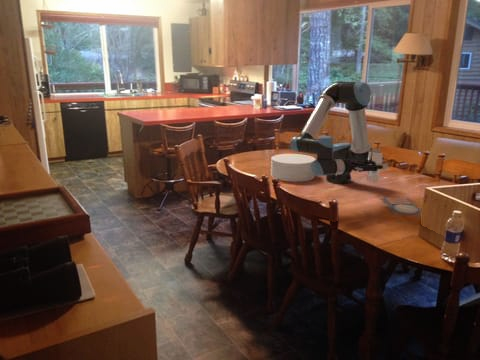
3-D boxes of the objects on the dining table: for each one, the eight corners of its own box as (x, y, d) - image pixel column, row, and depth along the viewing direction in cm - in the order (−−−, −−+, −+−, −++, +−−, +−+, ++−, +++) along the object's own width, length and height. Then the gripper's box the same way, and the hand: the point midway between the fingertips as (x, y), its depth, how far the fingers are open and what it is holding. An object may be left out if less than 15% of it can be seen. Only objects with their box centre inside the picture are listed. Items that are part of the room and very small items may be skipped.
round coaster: (398, 213, 200) (398, 211, 200) (390, 205, 211) (391, 204, 211) (421, 213, 200) (421, 212, 200) (412, 206, 210) (413, 204, 210)
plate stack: (313, 183, 252) (314, 164, 249) (268, 180, 257) (268, 162, 254) (315, 171, 278) (316, 154, 275) (273, 169, 284) (274, 152, 280)
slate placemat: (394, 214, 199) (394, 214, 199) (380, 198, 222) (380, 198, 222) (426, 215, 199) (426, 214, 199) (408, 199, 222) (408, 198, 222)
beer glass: (377, 178, 218) (379, 150, 214) (382, 181, 211) (384, 152, 207) (364, 178, 217) (366, 150, 213) (368, 181, 211) (371, 152, 207)
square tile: (391, 205, 212) (391, 203, 212) (385, 198, 221) (385, 197, 221) (411, 205, 211) (411, 203, 211) (404, 199, 221) (404, 197, 221)
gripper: (333, 169, 218) (373, 167, 223) (350, 179, 200) (393, 176, 205) (334, 155, 216) (374, 153, 221) (351, 164, 198) (395, 161, 203)
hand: (383, 164), depth 213 cm, fingers closed on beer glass, 6 cm apart
